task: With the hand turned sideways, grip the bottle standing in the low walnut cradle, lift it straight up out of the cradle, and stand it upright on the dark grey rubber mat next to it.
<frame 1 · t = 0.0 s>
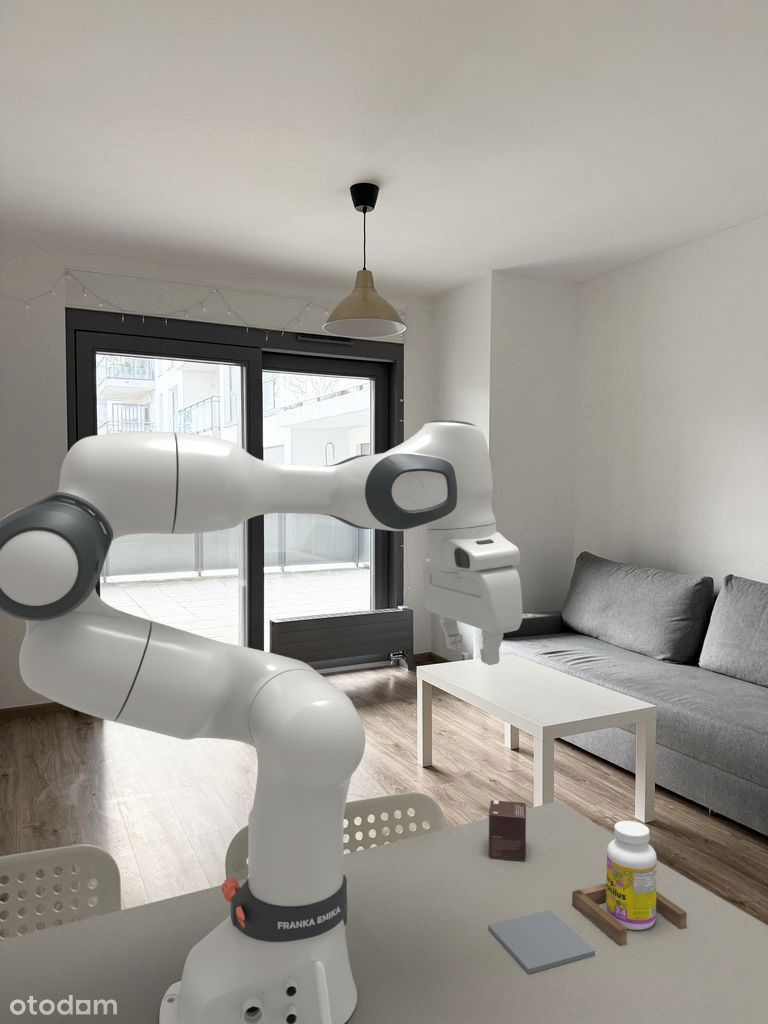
hand: (472, 655, 93), 39 cm above the table, tool pointing down, fingers open, 8 cm apart
supplement bottle: (630, 919, 102), on the table
box: (507, 852, 121), on the table
grey mat: (540, 941, 97), on the table
walnut cradle: (630, 917, 102), on the table
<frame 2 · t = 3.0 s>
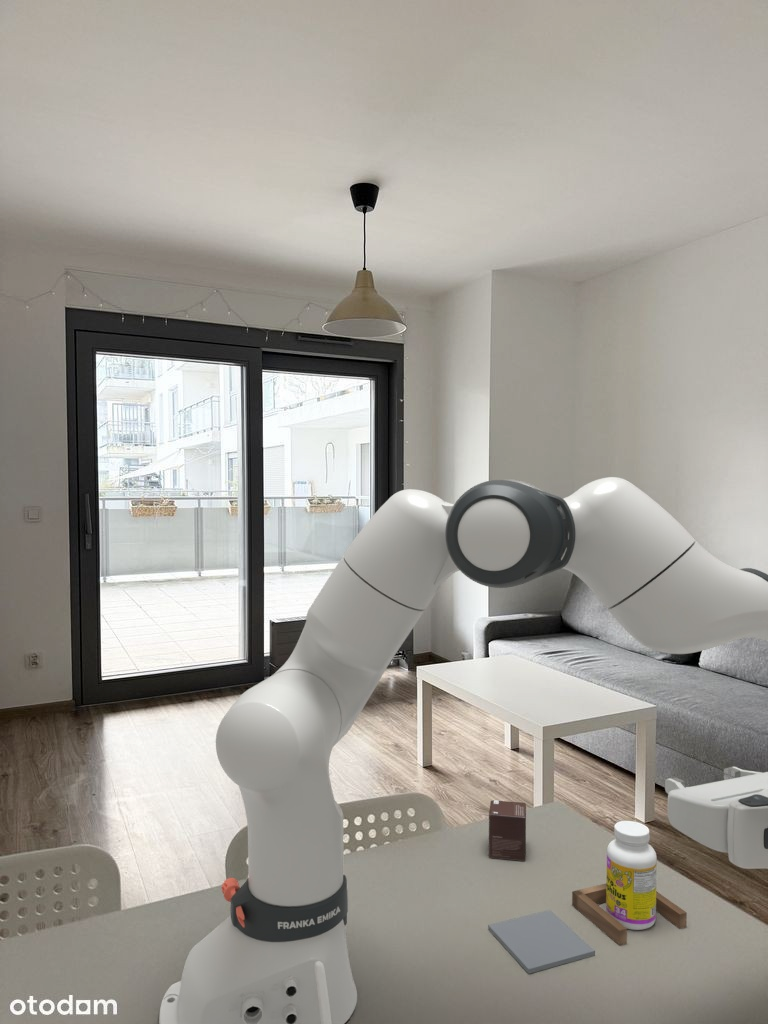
hand: (699, 778, 90), 24 cm above the table, tool horizontal, fingers open, 8 cm apart
nothing on the table moved.
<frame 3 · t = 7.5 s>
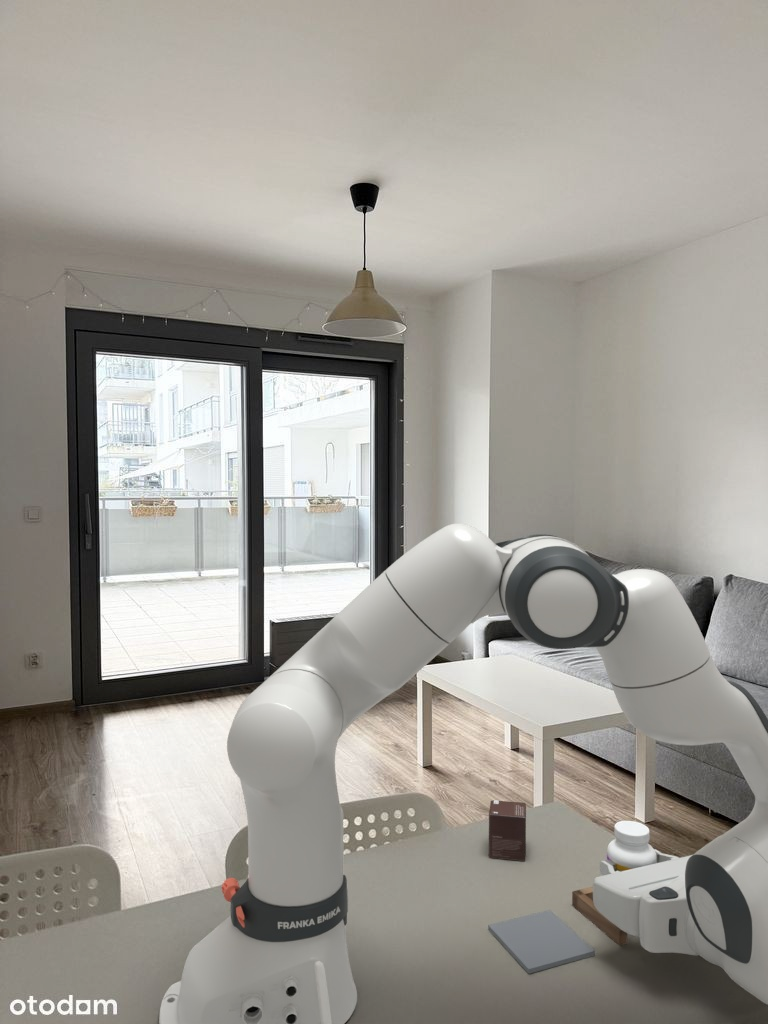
hand: (627, 860, 103), 8 cm above the table, tool horizontal, fingers closed on supplement bottle, 7 cm apart
supplement bottle: (630, 919, 102), on the table, touching gripper
everything else where it was.
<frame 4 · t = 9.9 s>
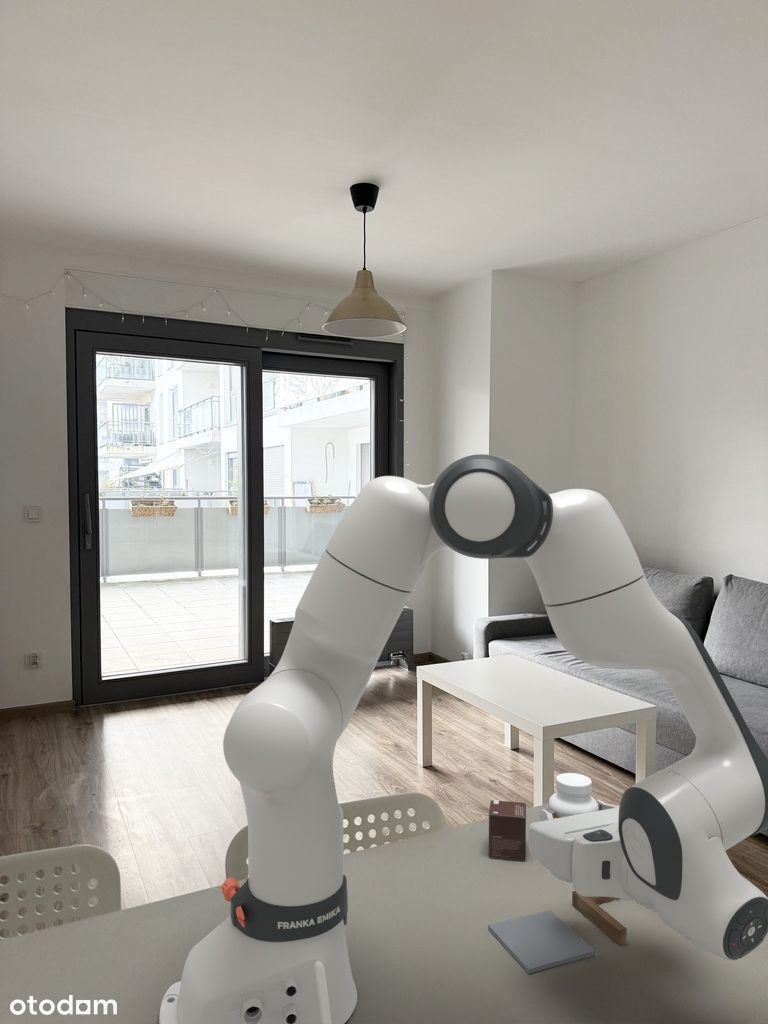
hand: (568, 809, 99), 16 cm above the table, tool horizontal, fingers closed on supplement bottle, 7 cm apart
supplement bottle: (572, 874, 99), point 8 cm above the table, touching gripper
everything else where it was.
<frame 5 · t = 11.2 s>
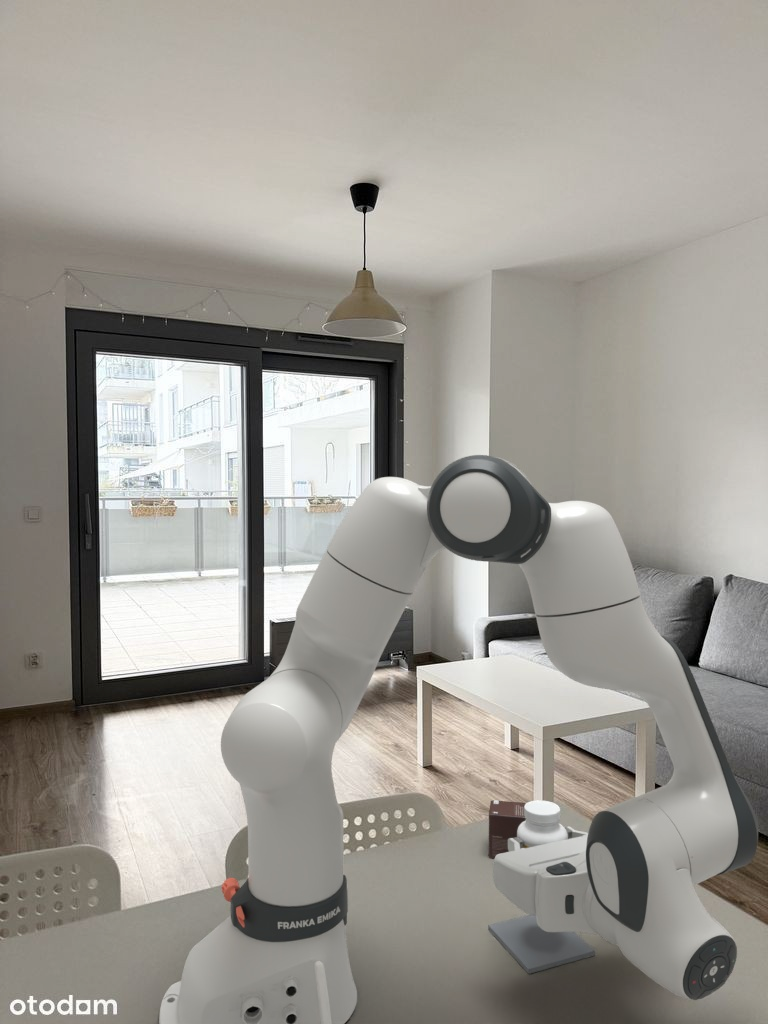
hand: (538, 837, 97), 14 cm above the table, tool horizontal, fingers closed on supplement bottle, 7 cm apart
supplement bottle: (542, 904, 96), point 5 cm above the table, touching gripper
everything else where it was.
when the fingers open (10 cm above the table, at t = 12.5 s): supplement bottle stays where it is, resting on grey mat.
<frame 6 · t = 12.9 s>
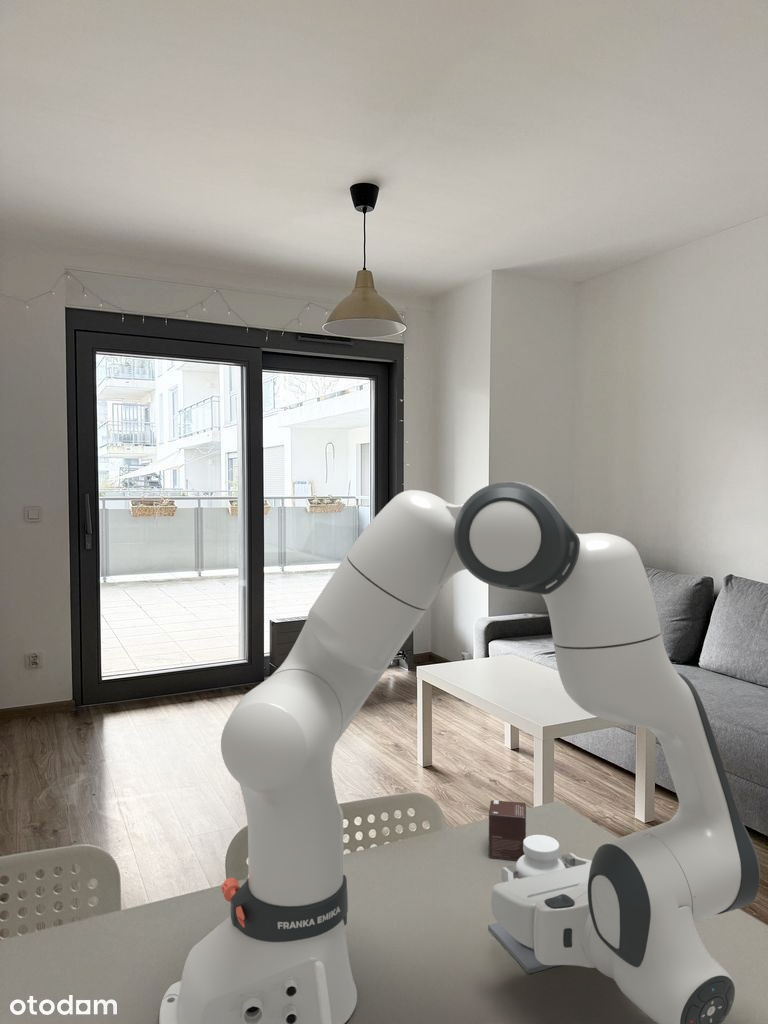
hand: (536, 865, 97), 10 cm above the table, tool horizontal, fingers open, 8 cm apart
supplement bottle: (540, 939, 96), resting on grey mat
everything else where it was.
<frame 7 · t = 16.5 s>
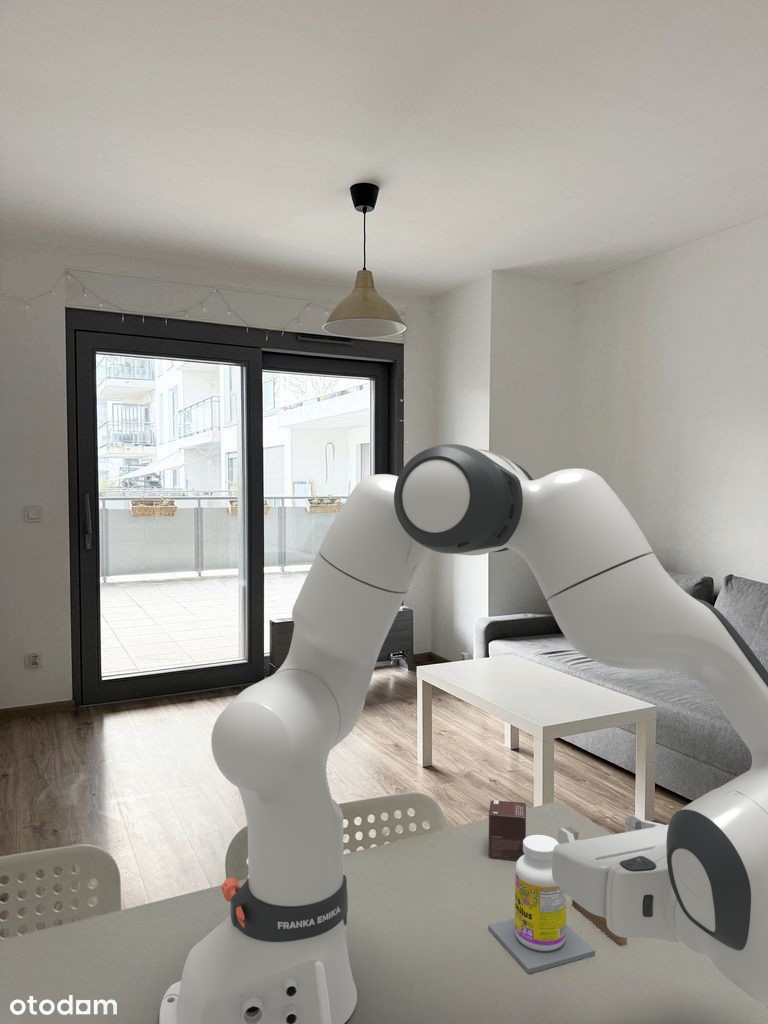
hand: (597, 827, 85), 20 cm above the table, tool horizontal, fingers open, 8 cm apart
nothing on the table moved.
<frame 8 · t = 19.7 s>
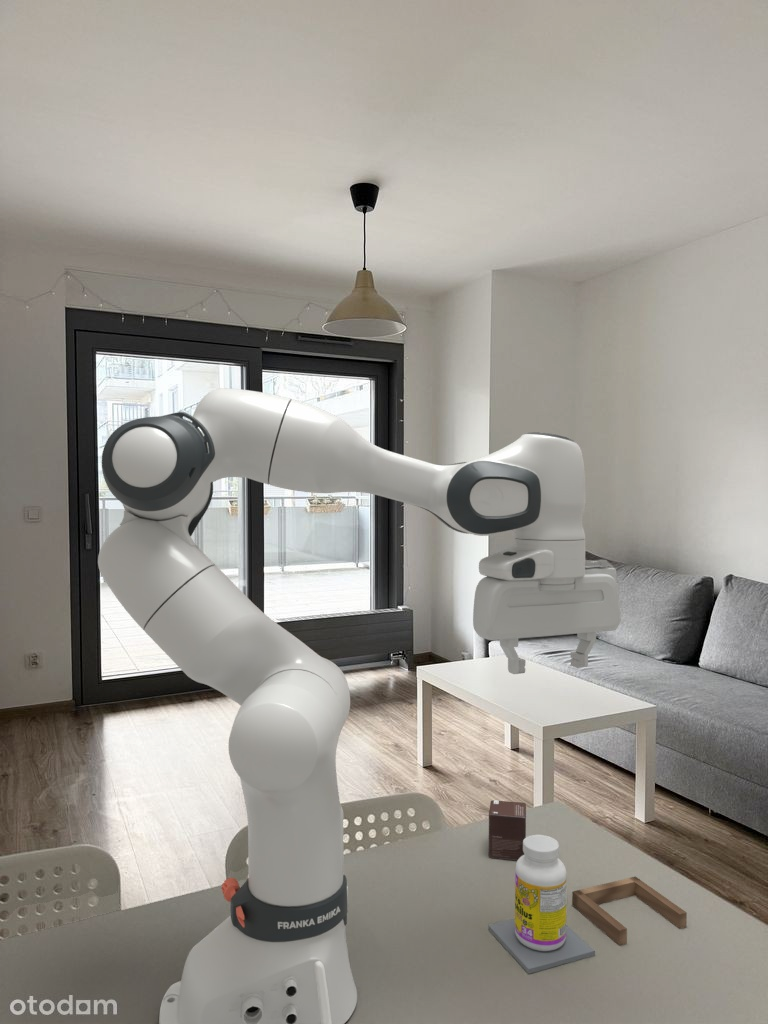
hand: (548, 669, 93), 37 cm above the table, tool pointing down, fingers open, 8 cm apart
nothing on the table moved.
at the end: supplement bottle inside the target area (0.1 cm from its centre), resting on grey mat; supplement bottle tilted 0°; the gripper is holding nothing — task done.
